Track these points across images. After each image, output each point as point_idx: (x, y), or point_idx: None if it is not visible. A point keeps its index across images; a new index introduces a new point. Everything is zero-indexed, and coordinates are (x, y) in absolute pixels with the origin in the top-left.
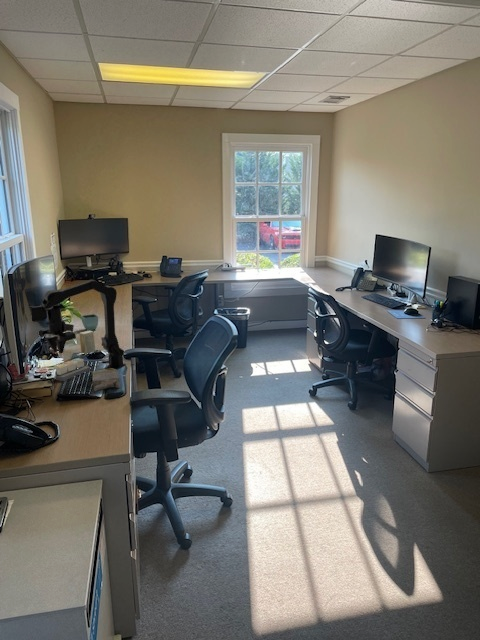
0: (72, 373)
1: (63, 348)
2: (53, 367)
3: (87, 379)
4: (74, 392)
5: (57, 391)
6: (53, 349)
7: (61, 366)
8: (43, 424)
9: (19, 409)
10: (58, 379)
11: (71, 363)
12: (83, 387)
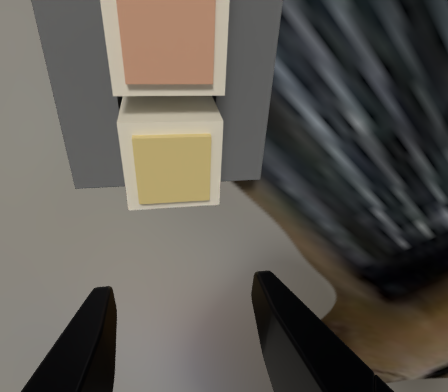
0: (266, 79)
1: (327, 336)
2: (128, 205)
3: (398, 42)
4: (420, 227)
5: (328, 259)
6: (111, 382)
7: (210, 177)
8: (440, 375)
9: None
10: None
11: (219, 34)
12: (438, 164)
